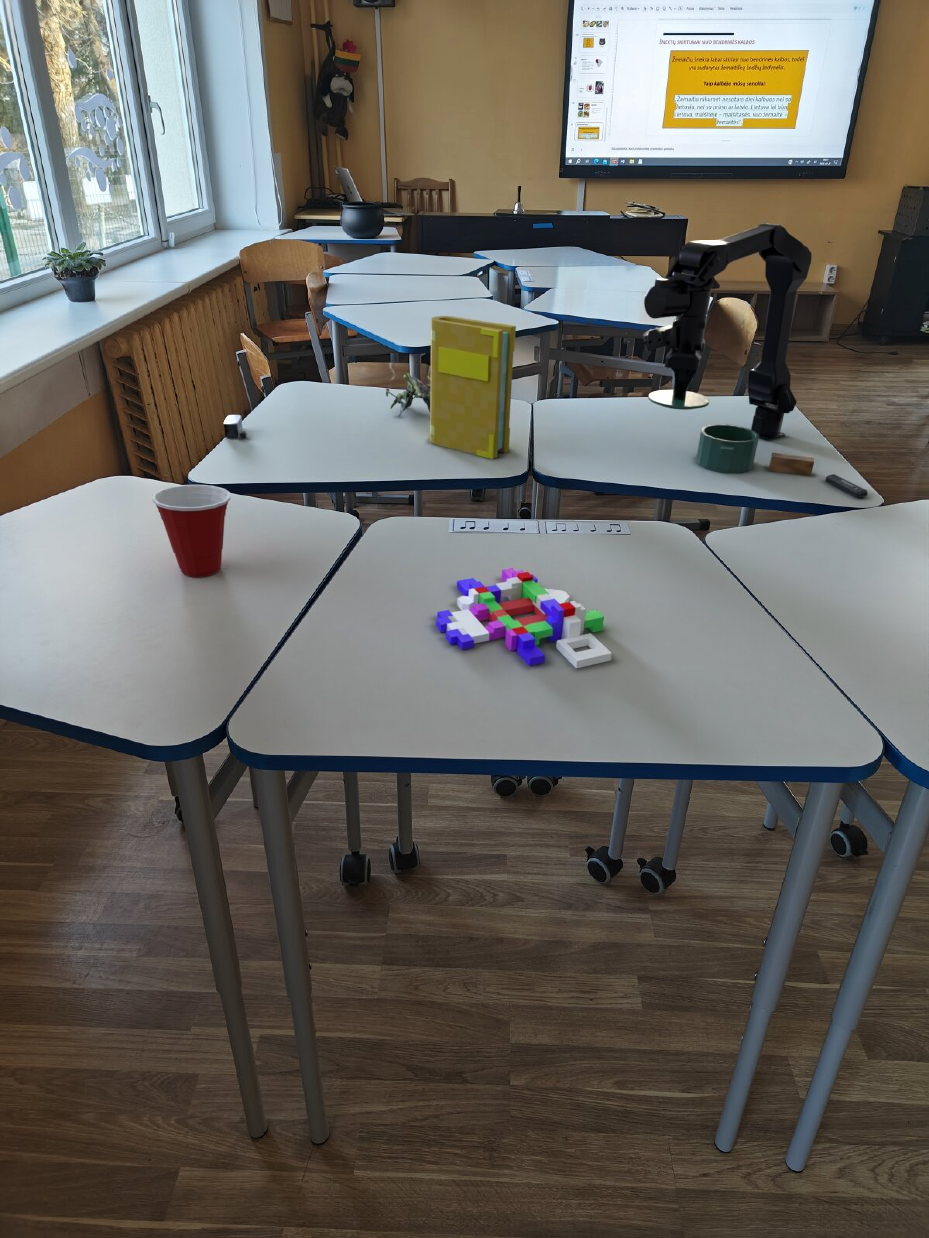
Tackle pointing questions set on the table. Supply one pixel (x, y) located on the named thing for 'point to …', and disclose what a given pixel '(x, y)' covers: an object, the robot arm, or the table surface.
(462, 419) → the book
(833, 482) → the usb stick
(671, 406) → the lid
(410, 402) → the green spindly figure
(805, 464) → the wooden block
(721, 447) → the pot
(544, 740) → the table surface
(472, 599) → the building block set
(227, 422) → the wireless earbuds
